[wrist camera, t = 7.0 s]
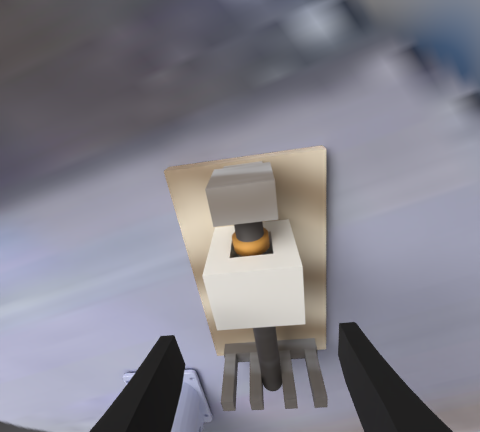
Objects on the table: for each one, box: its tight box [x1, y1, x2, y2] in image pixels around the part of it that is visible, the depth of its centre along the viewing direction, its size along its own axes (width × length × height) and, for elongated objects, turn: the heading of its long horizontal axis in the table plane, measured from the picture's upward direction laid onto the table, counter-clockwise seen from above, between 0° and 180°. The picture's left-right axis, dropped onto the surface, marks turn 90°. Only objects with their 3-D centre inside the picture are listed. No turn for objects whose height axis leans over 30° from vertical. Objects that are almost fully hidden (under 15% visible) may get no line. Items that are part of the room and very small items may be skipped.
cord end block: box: [202, 219, 305, 330], centre depth 16 cm, size 4×5×5 cm
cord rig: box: [164, 146, 327, 411], centre depth 18 cm, size 18×10×6 cm, turn 8°
